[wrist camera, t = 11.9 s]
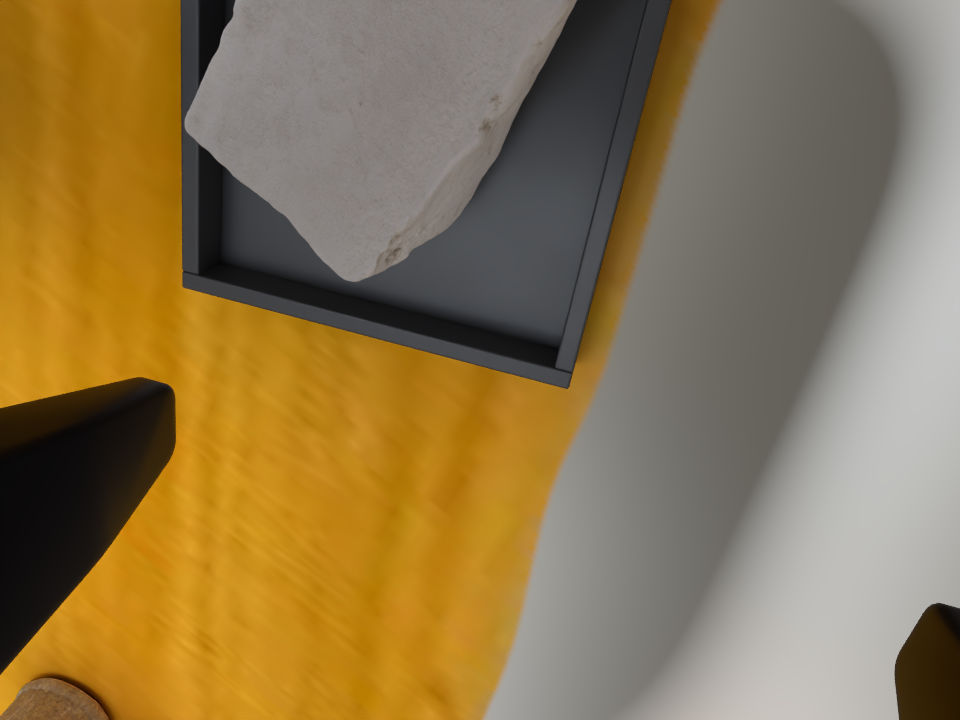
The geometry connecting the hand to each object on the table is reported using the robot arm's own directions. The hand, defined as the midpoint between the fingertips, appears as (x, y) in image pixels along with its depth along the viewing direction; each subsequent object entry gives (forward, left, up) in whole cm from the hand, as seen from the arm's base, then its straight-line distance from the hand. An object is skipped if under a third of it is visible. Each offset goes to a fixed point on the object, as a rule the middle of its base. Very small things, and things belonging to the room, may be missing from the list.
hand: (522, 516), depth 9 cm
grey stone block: (-3, +5, -12) cm, 13 cm away
